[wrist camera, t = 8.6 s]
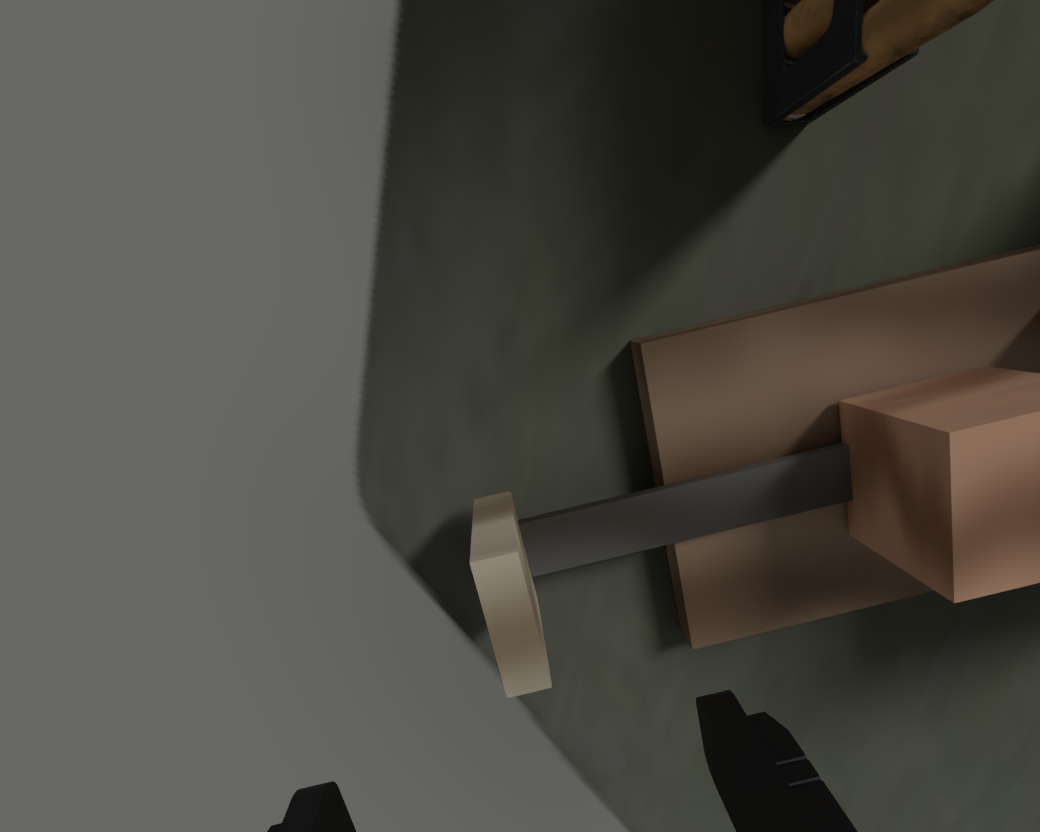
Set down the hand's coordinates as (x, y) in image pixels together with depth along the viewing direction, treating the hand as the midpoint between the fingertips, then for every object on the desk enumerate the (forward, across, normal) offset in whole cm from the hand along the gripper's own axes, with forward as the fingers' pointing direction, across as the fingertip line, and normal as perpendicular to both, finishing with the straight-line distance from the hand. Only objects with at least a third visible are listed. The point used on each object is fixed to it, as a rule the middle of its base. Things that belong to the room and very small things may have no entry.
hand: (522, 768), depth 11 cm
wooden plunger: (+10, -10, 0) cm, 14 cm away
